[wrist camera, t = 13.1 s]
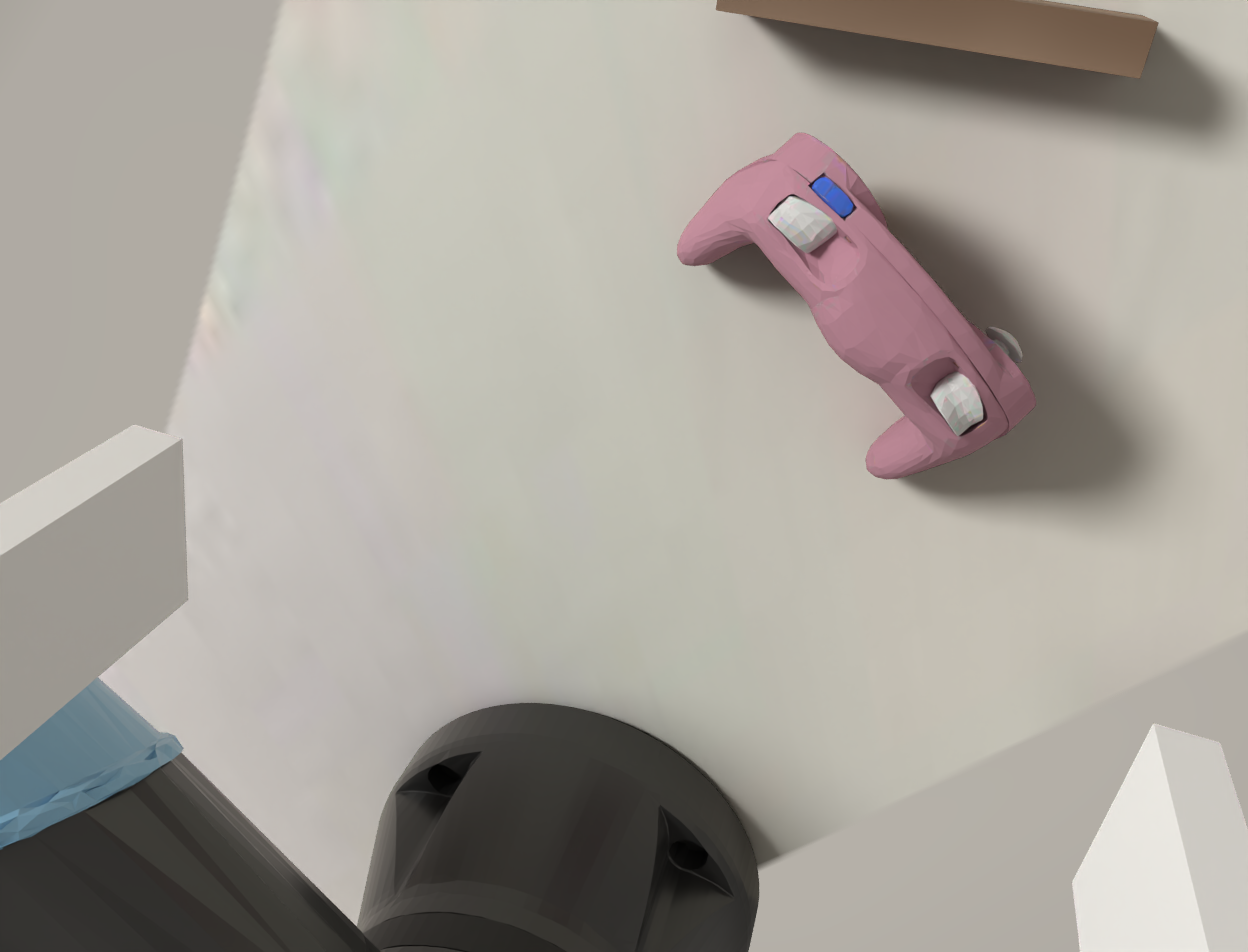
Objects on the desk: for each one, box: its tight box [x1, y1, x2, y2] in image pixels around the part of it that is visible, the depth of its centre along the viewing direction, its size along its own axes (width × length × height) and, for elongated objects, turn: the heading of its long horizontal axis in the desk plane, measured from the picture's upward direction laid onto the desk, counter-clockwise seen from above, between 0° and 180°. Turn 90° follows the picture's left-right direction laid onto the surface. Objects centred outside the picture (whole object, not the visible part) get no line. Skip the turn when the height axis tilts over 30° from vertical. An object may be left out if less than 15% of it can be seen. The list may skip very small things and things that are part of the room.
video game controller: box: [677, 133, 1036, 479], centre depth 29 cm, size 10×5×7 cm, turn 43°
